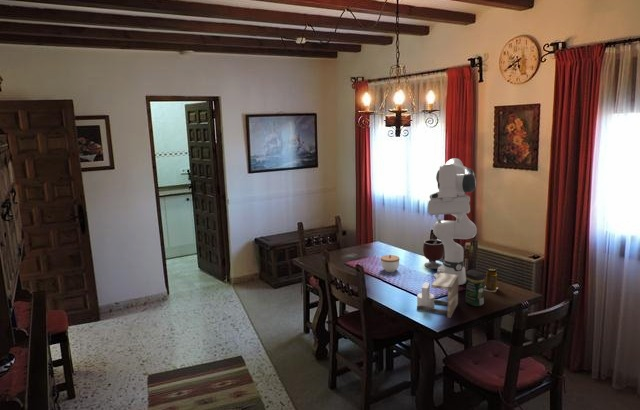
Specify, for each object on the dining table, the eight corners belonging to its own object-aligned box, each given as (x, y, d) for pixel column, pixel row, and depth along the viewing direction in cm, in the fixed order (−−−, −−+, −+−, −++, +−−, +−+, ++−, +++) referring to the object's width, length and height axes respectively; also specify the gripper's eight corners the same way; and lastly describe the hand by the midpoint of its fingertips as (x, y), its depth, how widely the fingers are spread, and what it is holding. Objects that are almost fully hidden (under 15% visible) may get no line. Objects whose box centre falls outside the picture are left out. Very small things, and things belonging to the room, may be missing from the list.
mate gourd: (421, 262, 315) (421, 235, 312) (440, 262, 315) (441, 235, 311) (425, 269, 300) (426, 241, 296) (446, 269, 299) (446, 240, 296)
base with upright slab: (432, 310, 235) (433, 289, 233) (415, 308, 238) (416, 287, 236) (435, 303, 243) (435, 283, 241) (418, 302, 246) (418, 281, 244)
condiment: (498, 287, 263) (499, 268, 261) (495, 292, 256) (496, 272, 254) (485, 285, 267) (486, 266, 265) (482, 290, 260) (483, 270, 258)
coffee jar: (462, 302, 244) (463, 270, 241) (472, 299, 248) (473, 267, 245) (475, 308, 236) (476, 275, 233) (486, 304, 239) (487, 272, 236)
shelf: (415, 312, 233) (415, 282, 230) (424, 298, 251) (425, 271, 248) (450, 317, 225) (451, 287, 222) (457, 303, 242) (458, 275, 239)
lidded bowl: (379, 273, 297) (379, 257, 295) (381, 267, 309) (381, 252, 307) (398, 273, 294) (398, 258, 292) (400, 267, 306) (400, 252, 304)
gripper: (470, 195, 217) (472, 223, 214) (429, 198, 226) (429, 224, 223) (469, 192, 211) (470, 220, 208) (426, 195, 220) (426, 222, 217)
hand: (448, 222), depth 216 cm, fingers open, 8 cm apart
